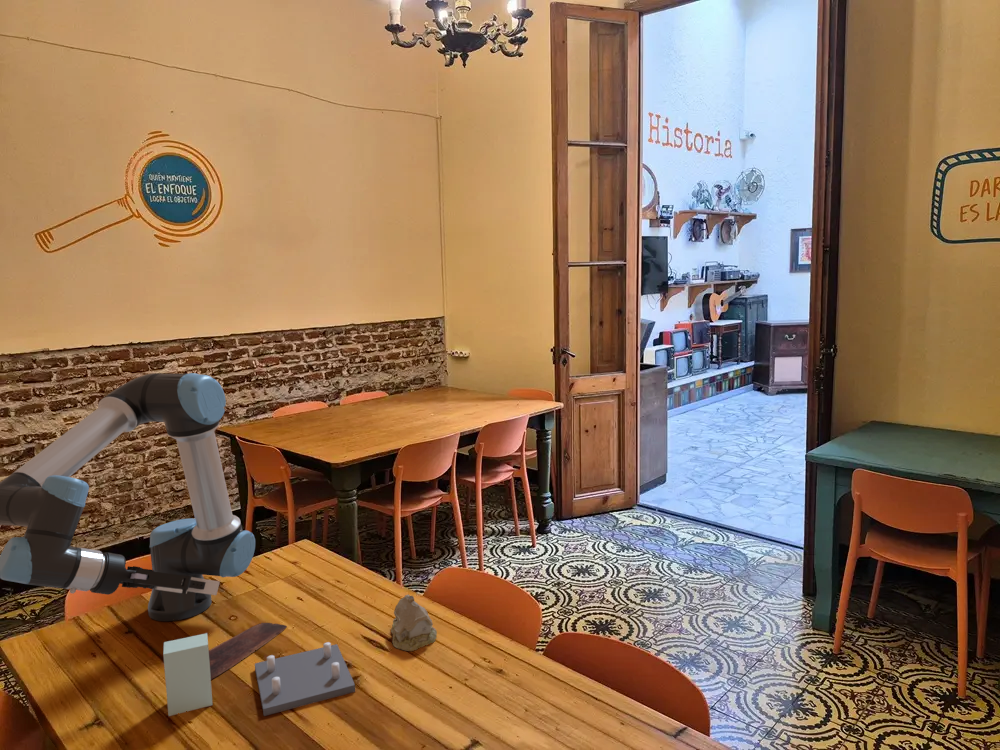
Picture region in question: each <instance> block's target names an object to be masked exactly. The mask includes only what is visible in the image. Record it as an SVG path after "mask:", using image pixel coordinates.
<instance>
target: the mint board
mask: <svg viewBox="0 0 1000 750" xmlns="http://www.w3.org/2000/svg"><path fill="white" fill-rule="evenodd" d="M208 639H209V638H208V632H205V633H201V634H197V635H192V636H187V637H183V638H182V637H181V638H177V639H174V640H173V639H172V640H168V641H164V642H163V651H162V652H163V654H162V655H163V665H164V678H165V679H164V680H165V688H166V692H165V693H166V702H167V713H168V717H172V716H175V715H179V714H183V713H187V712H189V711H190V712H191V711H195V710H198V709H202V708H206V707H210V706H213V695H212V694H213V693H212V692H213V691H212V681H211V676H210V663H209V650H210V649H209V641H208ZM186 711H187V712H186ZM178 713H179V714H178Z"/></svg>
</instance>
